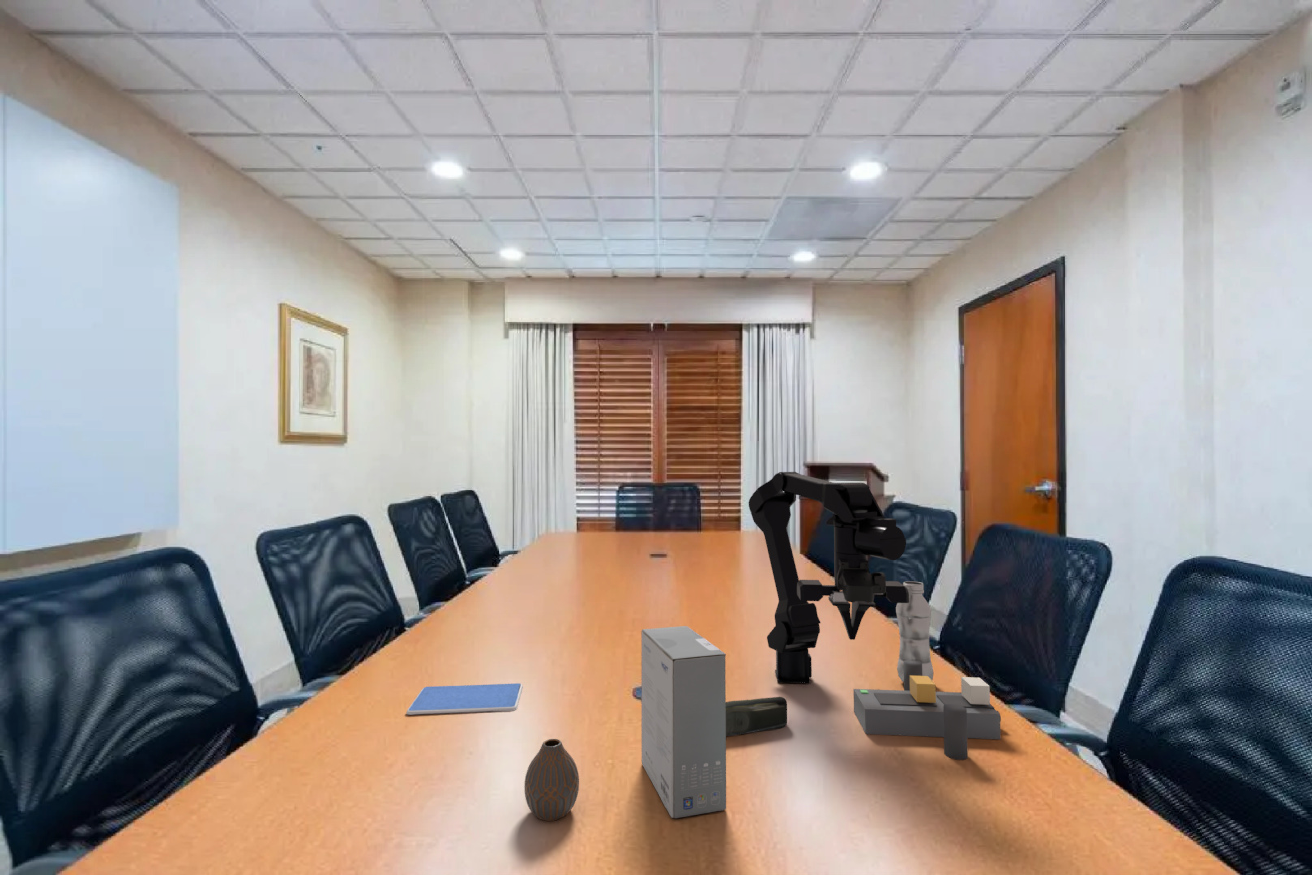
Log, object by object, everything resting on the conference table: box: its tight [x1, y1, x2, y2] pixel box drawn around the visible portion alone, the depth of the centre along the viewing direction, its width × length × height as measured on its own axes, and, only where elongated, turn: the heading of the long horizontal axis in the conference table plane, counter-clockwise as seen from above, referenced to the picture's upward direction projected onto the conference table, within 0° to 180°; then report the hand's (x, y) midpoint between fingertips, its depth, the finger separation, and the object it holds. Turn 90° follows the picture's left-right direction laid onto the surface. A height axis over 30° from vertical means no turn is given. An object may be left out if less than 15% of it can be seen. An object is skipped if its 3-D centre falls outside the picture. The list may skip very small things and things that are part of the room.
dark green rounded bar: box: [726, 696, 788, 737], centre depth 103 cm, size 5×3×15 cm
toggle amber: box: [910, 675, 937, 703], centre depth 105 cm, size 3×4×3 cm
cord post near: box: [943, 704, 969, 761], centre depth 95 cm, size 3×3×7 cm
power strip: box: [853, 688, 1002, 740], centre depth 105 cm, size 23×9×4 cm, turn 84°
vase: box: [523, 738, 580, 822], centre depth 80 cm, size 7×7×9 cm
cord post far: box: [903, 660, 922, 691], centre depth 115 cm, size 3×3×7 cm
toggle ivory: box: [960, 676, 991, 705], centre depth 104 cm, size 3×4×3 cm
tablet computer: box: [405, 682, 524, 716], centre depth 117 cm, size 19×13×1 cm, turn 97°
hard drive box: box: [640, 625, 727, 819], centre depth 86 cm, size 16×8×20 cm, turn 17°
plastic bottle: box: [895, 580, 934, 683], centre depth 124 cm, size 6×7×20 cm
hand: (851, 639), depth 112 cm, fingers closed
